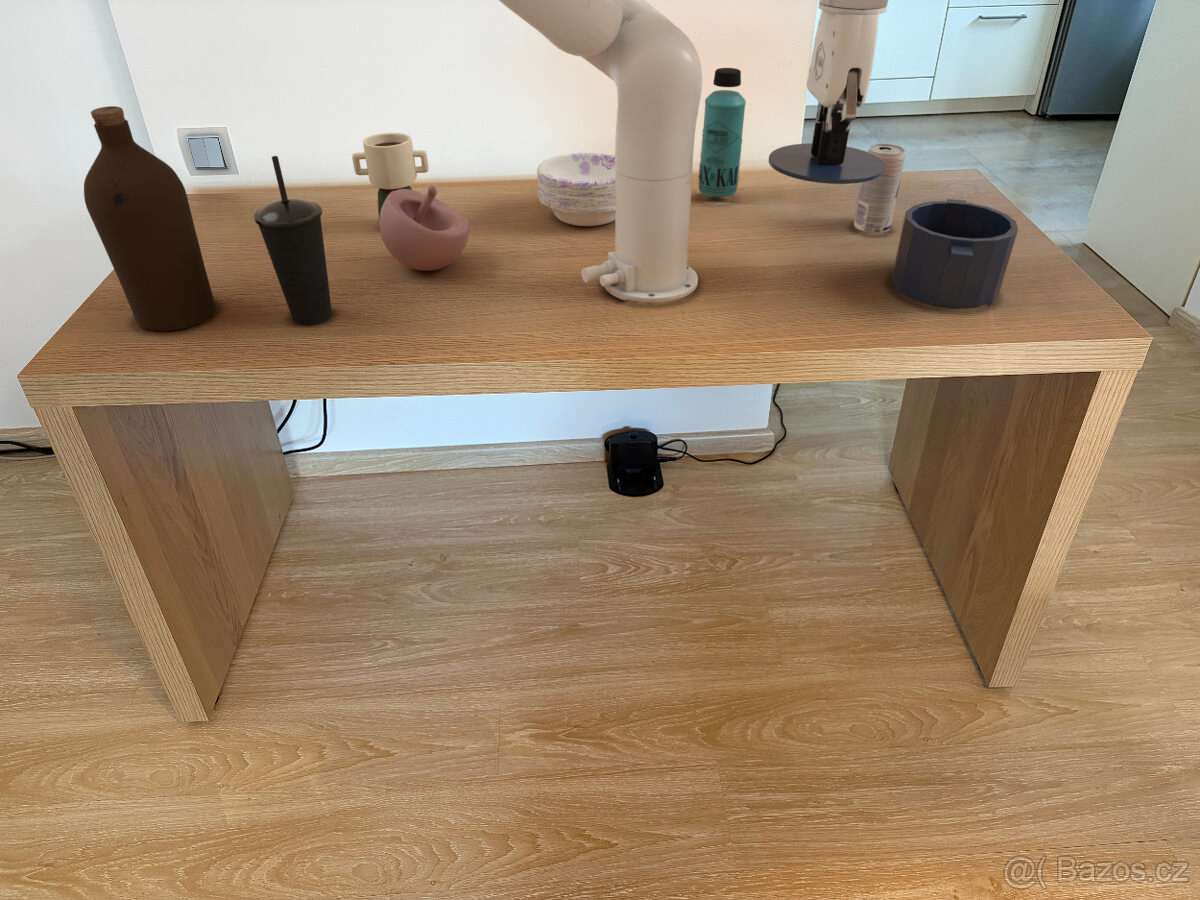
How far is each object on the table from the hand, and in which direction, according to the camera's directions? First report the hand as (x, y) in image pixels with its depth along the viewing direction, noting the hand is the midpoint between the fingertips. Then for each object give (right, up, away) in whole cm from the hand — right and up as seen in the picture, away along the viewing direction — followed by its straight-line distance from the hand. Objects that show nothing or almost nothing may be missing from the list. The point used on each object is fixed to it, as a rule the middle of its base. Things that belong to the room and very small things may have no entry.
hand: (826, 158), depth 106 cm
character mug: (-59, -2, +25) cm, 64 cm away
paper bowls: (-30, 0, +27) cm, 41 cm away
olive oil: (-82, -20, +2) cm, 85 cm away
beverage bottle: (-9, +4, +33) cm, 34 cm away
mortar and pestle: (-52, -11, +13) cm, 55 cm away
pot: (+17, -15, +5) cm, 23 cm away
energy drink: (+13, -3, +22) cm, 26 cm away
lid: (0, -1, +1) cm, 1 cm away
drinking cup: (-65, -20, +1) cm, 68 cm away
